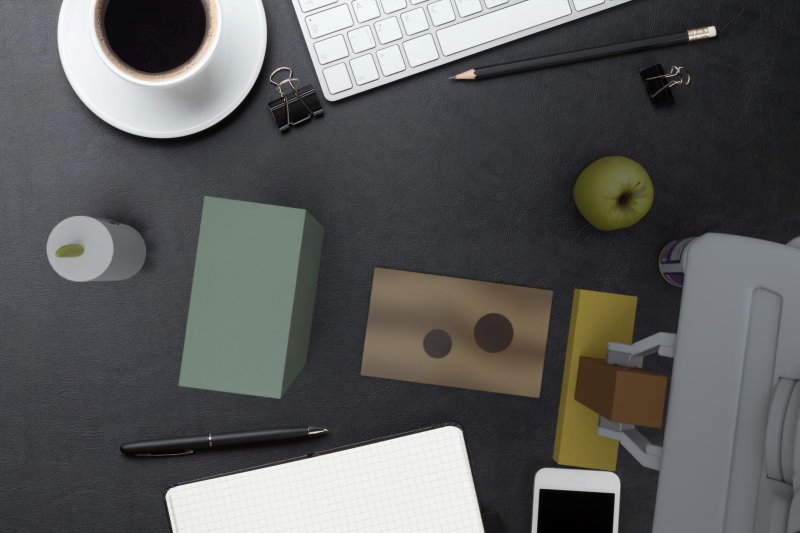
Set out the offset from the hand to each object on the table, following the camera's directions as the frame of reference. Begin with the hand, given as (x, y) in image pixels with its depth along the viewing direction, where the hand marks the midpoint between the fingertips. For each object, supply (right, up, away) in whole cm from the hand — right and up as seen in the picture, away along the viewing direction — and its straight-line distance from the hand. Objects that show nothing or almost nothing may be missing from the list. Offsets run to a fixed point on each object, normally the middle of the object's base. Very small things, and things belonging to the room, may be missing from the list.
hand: (606, 387), depth 48 cm
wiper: (0, 0, +5) cm, 5 cm away
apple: (+9, +15, +37) cm, 41 cm away
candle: (-44, +9, +35) cm, 57 cm away
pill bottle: (+19, +8, +37) cm, 42 cm away
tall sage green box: (-26, +5, +35) cm, 44 cm away
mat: (-7, 0, +36) cm, 37 cm away
